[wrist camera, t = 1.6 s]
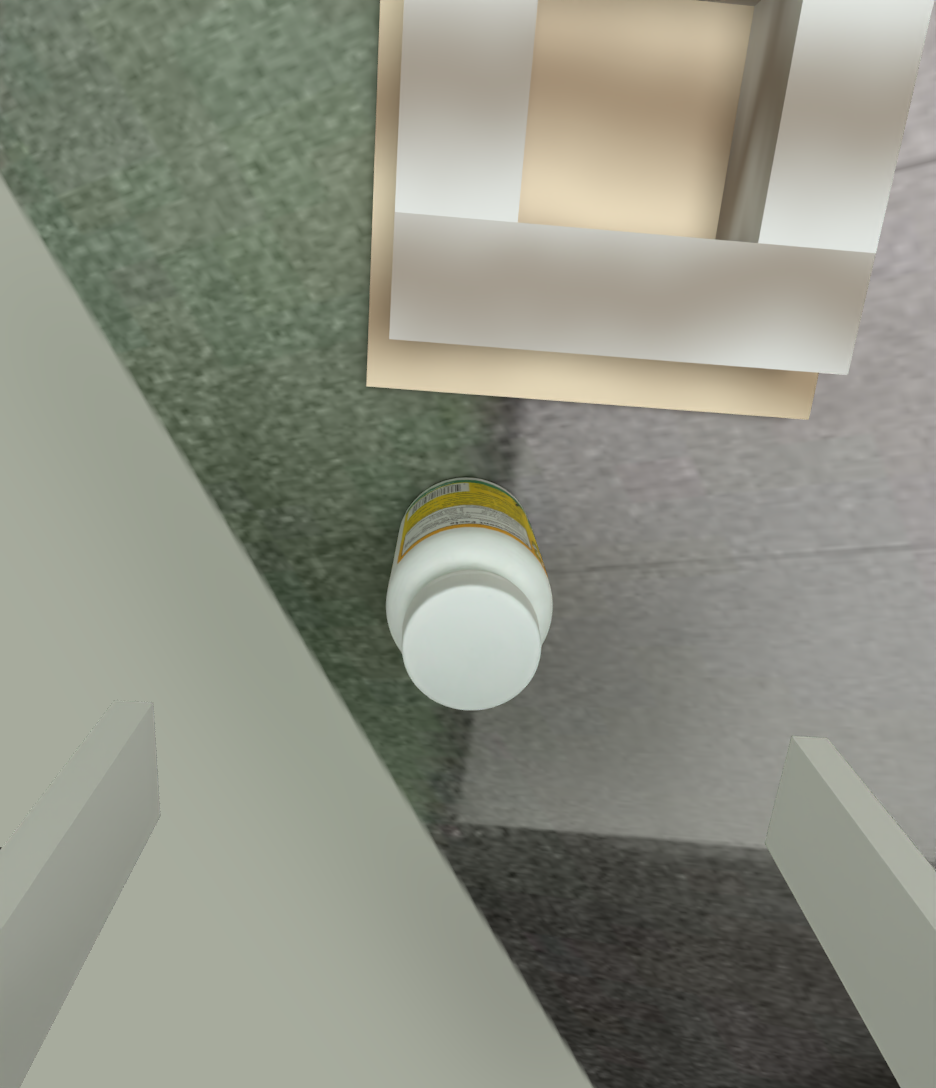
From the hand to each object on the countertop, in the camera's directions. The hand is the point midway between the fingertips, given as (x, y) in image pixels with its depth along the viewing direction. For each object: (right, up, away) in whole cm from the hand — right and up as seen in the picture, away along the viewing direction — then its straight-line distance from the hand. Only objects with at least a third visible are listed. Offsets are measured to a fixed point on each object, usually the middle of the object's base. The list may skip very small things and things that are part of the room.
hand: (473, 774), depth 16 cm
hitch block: (+5, +19, +10) cm, 22 cm away
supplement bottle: (0, +5, +15) cm, 16 cm away
